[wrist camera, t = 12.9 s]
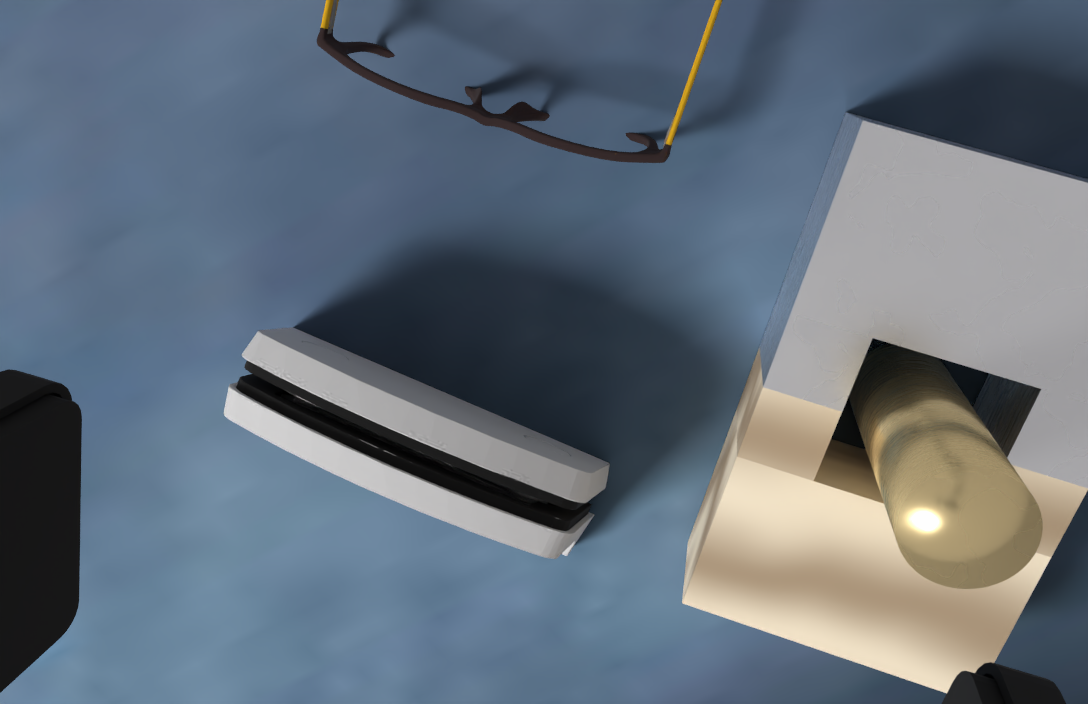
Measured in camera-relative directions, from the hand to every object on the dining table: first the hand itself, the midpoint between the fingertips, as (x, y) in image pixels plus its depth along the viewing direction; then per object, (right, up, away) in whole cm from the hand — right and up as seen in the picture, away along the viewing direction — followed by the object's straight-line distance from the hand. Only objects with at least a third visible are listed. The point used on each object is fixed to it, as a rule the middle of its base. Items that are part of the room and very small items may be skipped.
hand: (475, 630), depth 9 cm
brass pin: (+16, +1, +28) cm, 32 cm away
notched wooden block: (+14, -3, +30) cm, 33 cm away
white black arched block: (-4, 0, +33) cm, 33 cm away
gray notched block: (+17, +6, +26) cm, 32 cm away
